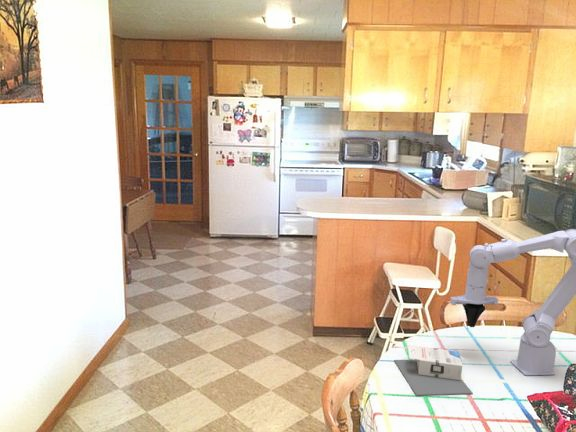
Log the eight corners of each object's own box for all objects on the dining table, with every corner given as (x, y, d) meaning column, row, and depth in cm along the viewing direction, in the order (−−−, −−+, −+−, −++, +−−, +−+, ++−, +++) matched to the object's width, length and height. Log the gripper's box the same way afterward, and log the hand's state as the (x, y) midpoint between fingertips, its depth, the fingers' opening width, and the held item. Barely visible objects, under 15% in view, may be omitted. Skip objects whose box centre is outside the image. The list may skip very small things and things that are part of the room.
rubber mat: (443, 360, 144) (444, 358, 144) (472, 394, 126) (472, 392, 126) (394, 361, 142) (394, 359, 142) (416, 396, 125) (416, 394, 124)
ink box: (456, 365, 140) (406, 358, 143) (458, 351, 139) (407, 344, 142) (460, 381, 132) (407, 373, 135) (462, 365, 131) (409, 358, 134)
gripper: (491, 279, 146) (486, 319, 149) (447, 280, 145) (443, 320, 148) (504, 288, 139) (498, 329, 142) (458, 288, 138) (453, 330, 141)
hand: (470, 325), depth 144 cm, fingers closed
